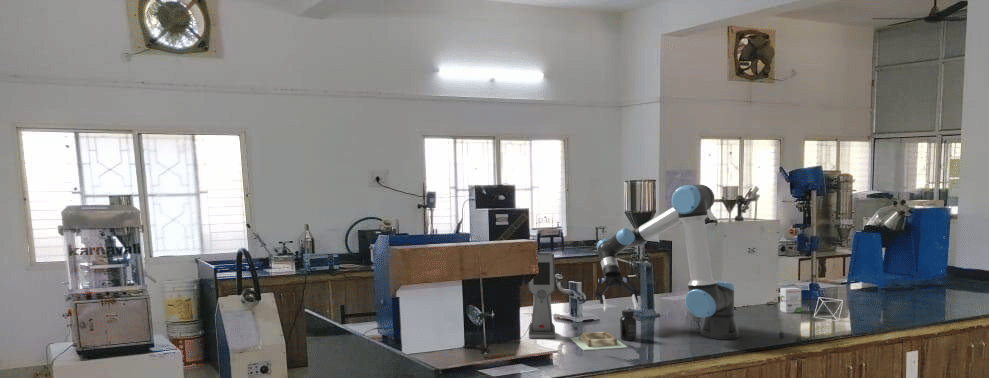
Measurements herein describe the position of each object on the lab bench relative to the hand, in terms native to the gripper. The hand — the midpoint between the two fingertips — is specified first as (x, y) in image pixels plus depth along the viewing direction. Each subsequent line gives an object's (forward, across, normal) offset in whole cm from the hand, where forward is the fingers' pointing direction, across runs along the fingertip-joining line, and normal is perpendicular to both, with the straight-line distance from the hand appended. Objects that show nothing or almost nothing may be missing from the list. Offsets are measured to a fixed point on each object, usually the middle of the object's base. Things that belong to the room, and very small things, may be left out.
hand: (621, 309), depth 256 cm
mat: (+16, +14, 0) cm, 21 cm away
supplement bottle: (+13, -1, -3) cm, 13 cm away
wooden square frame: (+16, +14, 0) cm, 21 cm away
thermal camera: (+5, +34, -11) cm, 36 cm away
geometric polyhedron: (-3, -106, -19) cm, 108 cm away
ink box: (-14, -97, -30) cm, 102 cm away
